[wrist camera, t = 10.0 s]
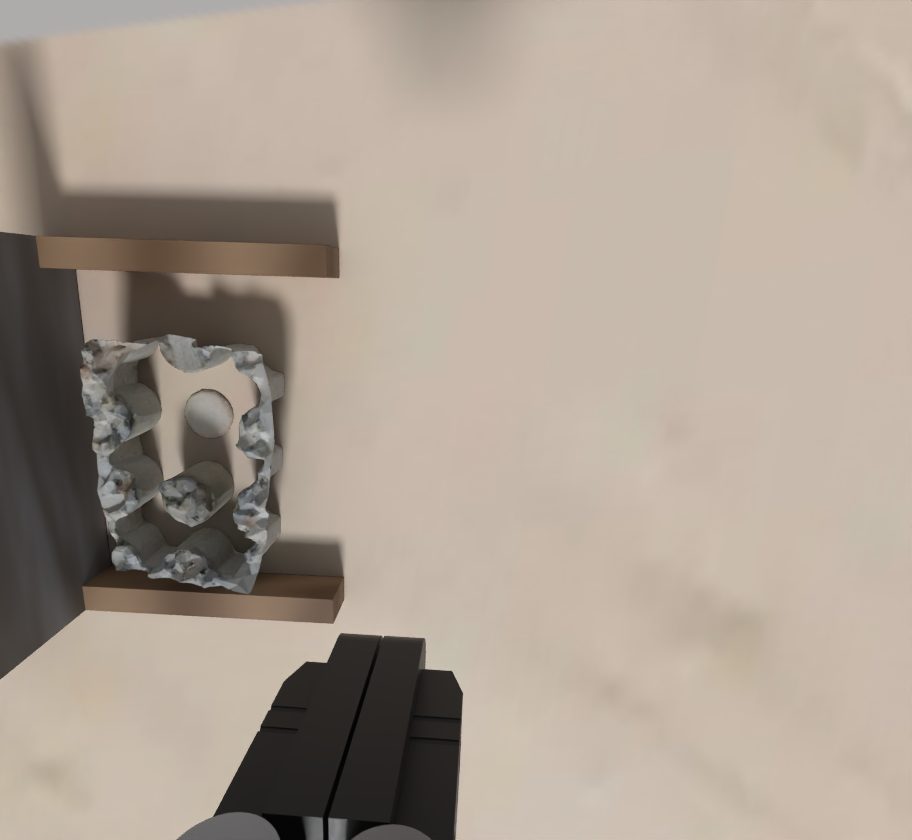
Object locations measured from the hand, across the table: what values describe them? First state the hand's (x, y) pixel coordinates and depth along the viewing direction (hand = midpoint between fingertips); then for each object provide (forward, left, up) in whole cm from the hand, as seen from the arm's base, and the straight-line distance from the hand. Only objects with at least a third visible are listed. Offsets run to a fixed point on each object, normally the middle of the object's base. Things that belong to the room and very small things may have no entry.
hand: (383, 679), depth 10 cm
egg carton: (+11, +1, -16) cm, 19 cm away
